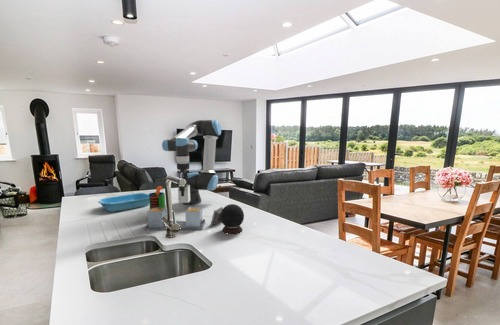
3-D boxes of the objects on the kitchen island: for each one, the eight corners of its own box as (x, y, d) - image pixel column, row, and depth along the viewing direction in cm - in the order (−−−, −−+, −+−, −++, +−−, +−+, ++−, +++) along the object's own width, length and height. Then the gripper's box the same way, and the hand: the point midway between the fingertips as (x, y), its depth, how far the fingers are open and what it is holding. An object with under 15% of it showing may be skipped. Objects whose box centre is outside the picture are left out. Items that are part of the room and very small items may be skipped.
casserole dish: (145, 199, 214) (144, 191, 213) (157, 205, 198) (157, 195, 198) (94, 208, 188) (93, 199, 187) (104, 215, 172) (103, 205, 172)
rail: (152, 223, 158) (151, 205, 157) (205, 222, 159) (204, 205, 158) (145, 229, 148) (144, 211, 146) (202, 229, 148) (201, 211, 147)
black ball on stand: (215, 230, 147) (215, 204, 145) (233, 224, 156) (233, 200, 154) (231, 237, 137) (230, 209, 136) (248, 230, 147) (248, 204, 145)
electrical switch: (218, 219, 165) (219, 205, 163) (225, 221, 163) (226, 207, 161) (210, 224, 156) (211, 209, 155) (218, 226, 154) (219, 211, 153)
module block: (180, 200, 167) (180, 184, 166) (190, 200, 167) (189, 184, 166) (178, 202, 162) (177, 186, 160) (188, 202, 162) (187, 186, 160)
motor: (146, 218, 166) (145, 187, 164) (156, 214, 175) (154, 185, 172) (160, 220, 163) (158, 189, 161) (169, 216, 171) (167, 186, 169)
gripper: (180, 160, 170) (182, 195, 173) (172, 165, 152) (174, 203, 155) (192, 160, 170) (193, 195, 173) (185, 165, 152) (187, 203, 155)
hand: (184, 199), depth 164 cm, fingers closed on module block, 6 cm apart
